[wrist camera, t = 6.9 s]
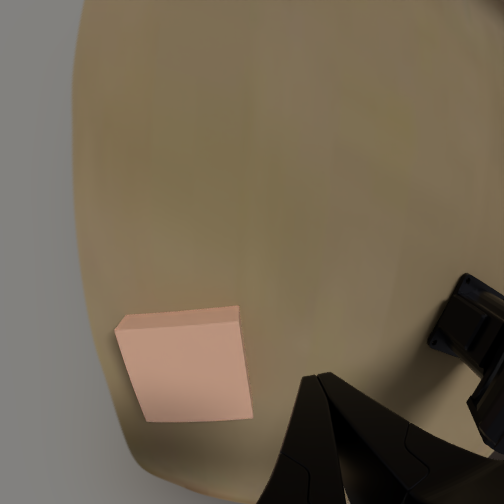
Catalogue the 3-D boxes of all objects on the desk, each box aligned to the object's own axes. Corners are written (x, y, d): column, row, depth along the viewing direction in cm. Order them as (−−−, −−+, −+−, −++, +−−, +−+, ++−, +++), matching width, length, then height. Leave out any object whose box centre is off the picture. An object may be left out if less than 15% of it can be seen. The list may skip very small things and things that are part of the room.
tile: (238, 320, 19) (114, 329, 19) (253, 418, 21) (146, 421, 21) (239, 303, 21) (127, 313, 21) (252, 395, 23) (154, 400, 23)
